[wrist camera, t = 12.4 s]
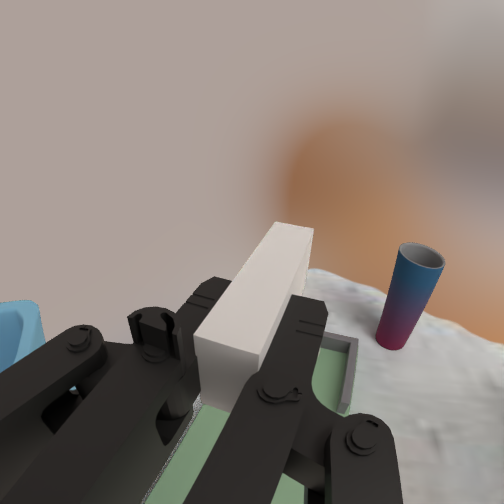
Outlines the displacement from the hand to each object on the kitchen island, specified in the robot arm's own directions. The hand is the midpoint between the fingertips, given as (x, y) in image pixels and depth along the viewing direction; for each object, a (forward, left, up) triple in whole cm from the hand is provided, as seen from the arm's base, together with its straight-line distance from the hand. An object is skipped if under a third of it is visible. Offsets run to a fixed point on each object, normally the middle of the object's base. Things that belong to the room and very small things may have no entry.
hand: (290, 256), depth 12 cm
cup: (+13, -27, -26) cm, 40 cm away
